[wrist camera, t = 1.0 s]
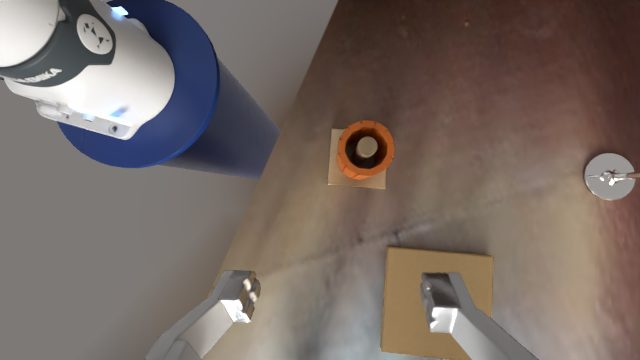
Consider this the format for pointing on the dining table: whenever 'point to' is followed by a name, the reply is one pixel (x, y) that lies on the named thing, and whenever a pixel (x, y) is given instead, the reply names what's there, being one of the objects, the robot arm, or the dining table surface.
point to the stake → (354, 162)
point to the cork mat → (406, 305)
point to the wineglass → (609, 176)
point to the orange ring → (380, 156)
